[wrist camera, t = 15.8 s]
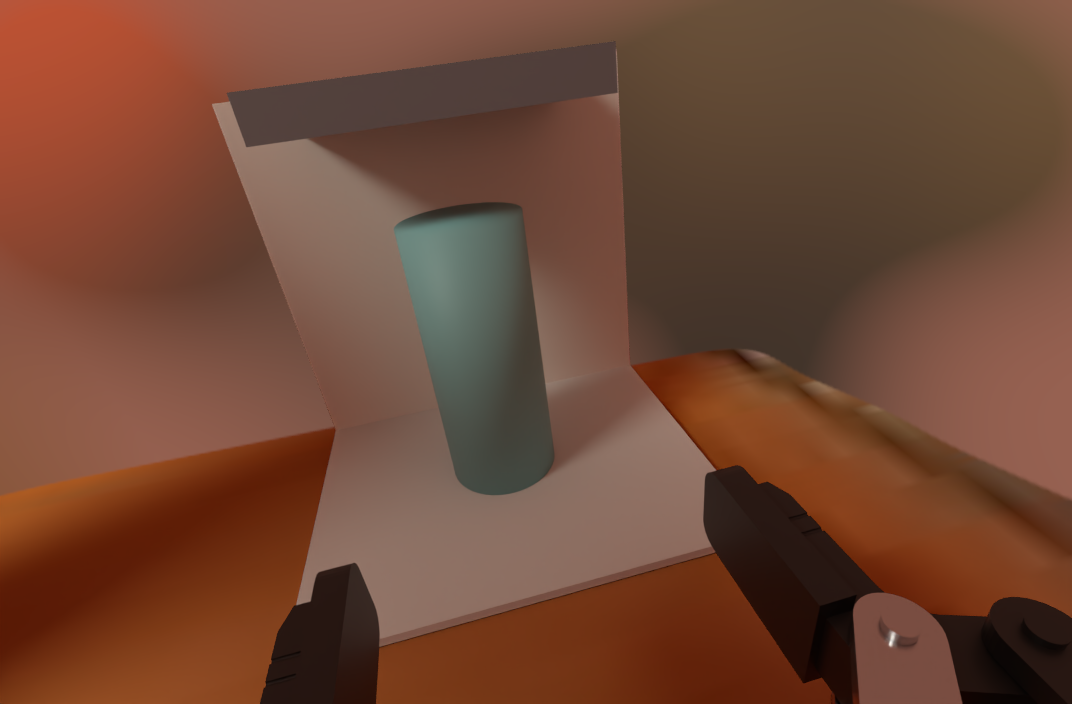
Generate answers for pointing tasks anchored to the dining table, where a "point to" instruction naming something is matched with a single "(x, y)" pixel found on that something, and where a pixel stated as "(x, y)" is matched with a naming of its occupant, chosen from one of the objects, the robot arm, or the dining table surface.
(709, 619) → the dining table surface
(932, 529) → the dining table surface
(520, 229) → the post
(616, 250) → the stand
